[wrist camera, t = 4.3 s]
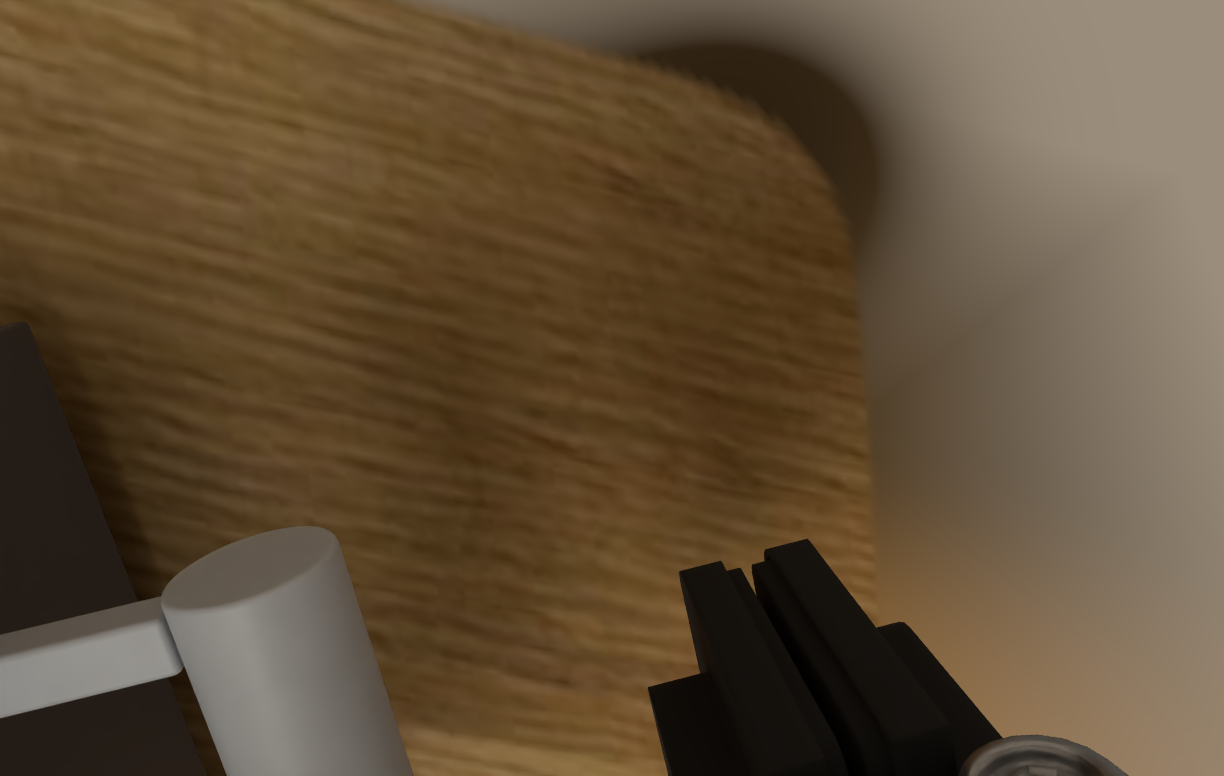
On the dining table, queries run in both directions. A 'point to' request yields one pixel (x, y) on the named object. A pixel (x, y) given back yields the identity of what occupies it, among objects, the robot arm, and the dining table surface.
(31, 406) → the drawer front with handle
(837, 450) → the dining table surface
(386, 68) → the dining table surface
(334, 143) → the dining table surface
